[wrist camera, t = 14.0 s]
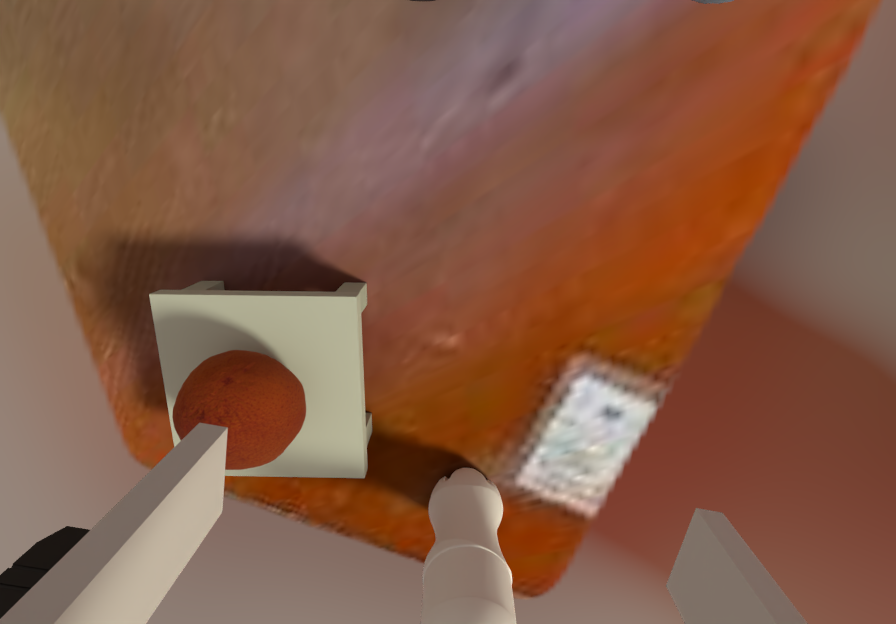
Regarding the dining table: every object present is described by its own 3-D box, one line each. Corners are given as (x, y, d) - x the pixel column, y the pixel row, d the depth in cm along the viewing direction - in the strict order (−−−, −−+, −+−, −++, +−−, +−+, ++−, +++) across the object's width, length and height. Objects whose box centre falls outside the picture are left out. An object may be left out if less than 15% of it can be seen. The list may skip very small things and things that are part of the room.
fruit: (193, 413, 41) (131, 470, 33) (226, 320, 38) (168, 358, 31) (293, 454, 42) (256, 519, 34) (331, 365, 39) (301, 414, 32)
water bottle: (427, 516, 51) (401, 822, 27) (432, 456, 49) (408, 729, 25) (496, 522, 51) (529, 832, 28) (504, 462, 49) (547, 740, 25)
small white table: (195, 275, 45) (148, 294, 38) (371, 277, 44) (356, 296, 38) (217, 432, 49) (179, 474, 42) (377, 435, 49) (364, 478, 42)
